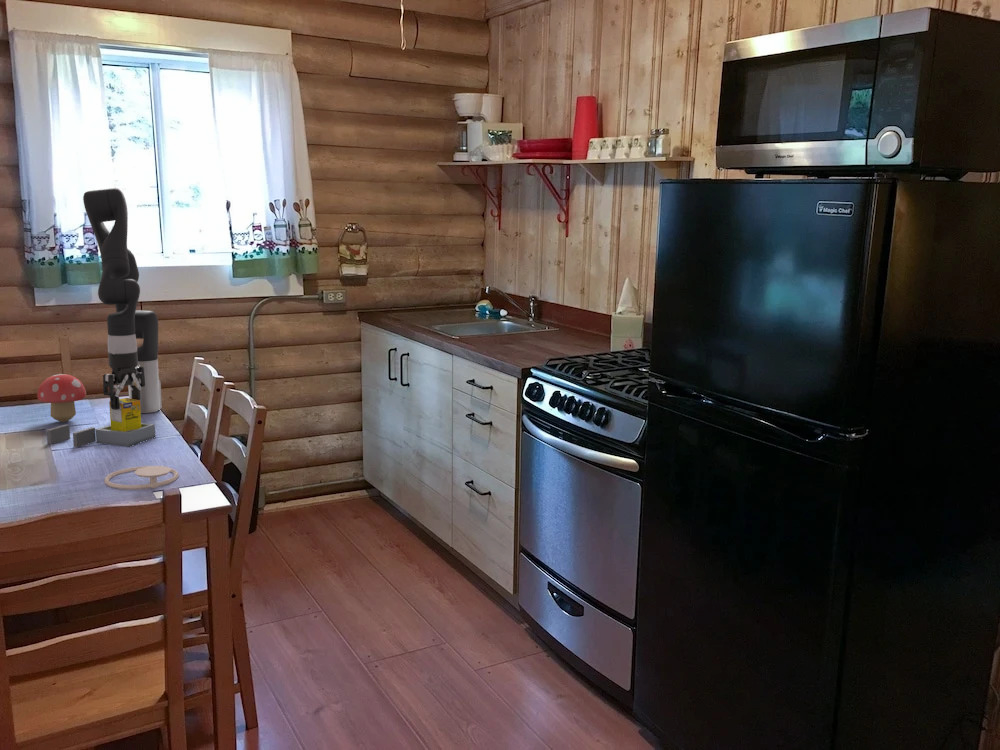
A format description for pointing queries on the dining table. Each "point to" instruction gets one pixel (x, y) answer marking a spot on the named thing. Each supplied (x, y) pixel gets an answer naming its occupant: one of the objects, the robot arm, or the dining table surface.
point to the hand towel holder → (146, 472)
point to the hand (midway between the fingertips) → (125, 406)
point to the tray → (125, 435)
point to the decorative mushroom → (61, 395)
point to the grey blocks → (64, 433)
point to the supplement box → (126, 415)
